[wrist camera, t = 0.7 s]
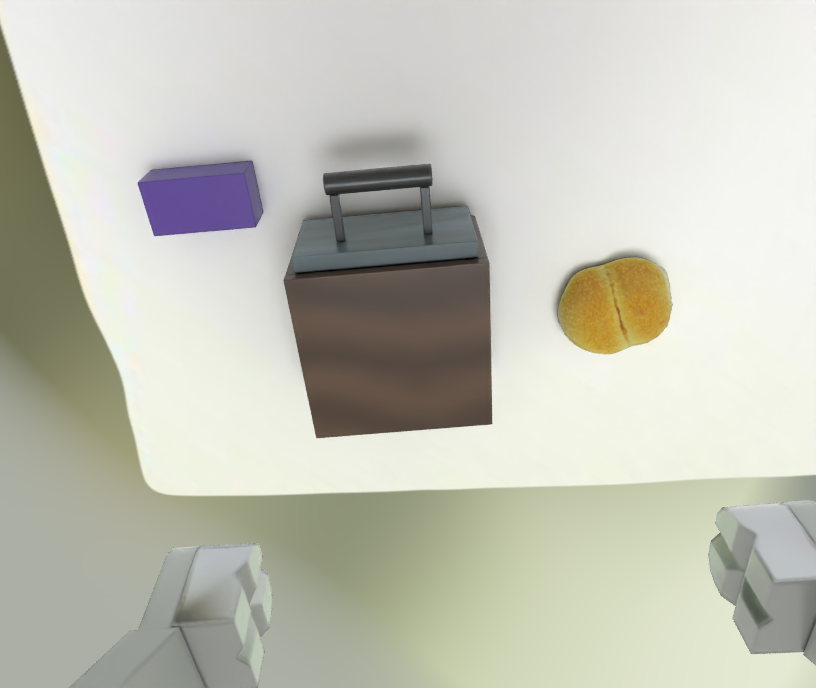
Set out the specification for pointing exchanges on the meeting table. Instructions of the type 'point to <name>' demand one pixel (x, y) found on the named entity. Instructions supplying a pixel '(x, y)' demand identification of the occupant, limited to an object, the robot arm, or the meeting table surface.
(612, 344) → the bread roll
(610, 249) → the meeting table surface
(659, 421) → the meeting table surface
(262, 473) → the meeting table surface
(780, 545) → the robot arm
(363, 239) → the drawer
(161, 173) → the bar
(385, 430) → the cabinet
